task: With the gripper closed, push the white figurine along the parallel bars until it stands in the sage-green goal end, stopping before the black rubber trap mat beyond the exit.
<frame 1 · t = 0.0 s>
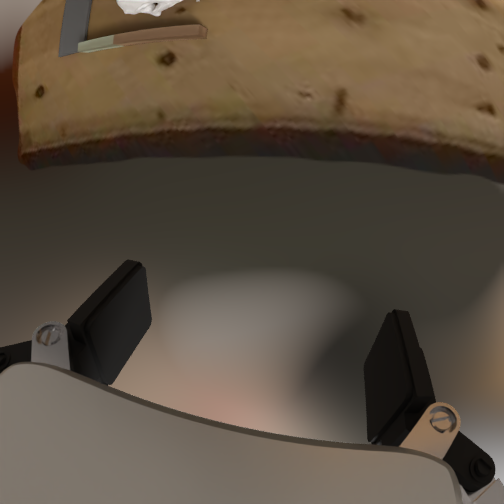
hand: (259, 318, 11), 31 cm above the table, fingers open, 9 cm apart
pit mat: (77, 17, 32), on the table
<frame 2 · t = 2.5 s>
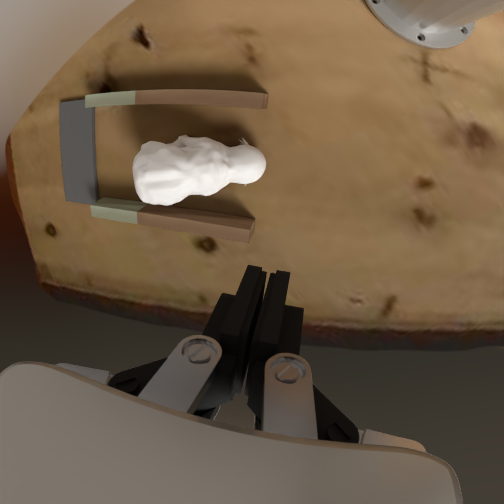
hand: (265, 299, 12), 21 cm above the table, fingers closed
white figurine: (215, 159, 32), on the table
parallel bars: (171, 155, 32), on the table
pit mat: (78, 151, 34), on the table
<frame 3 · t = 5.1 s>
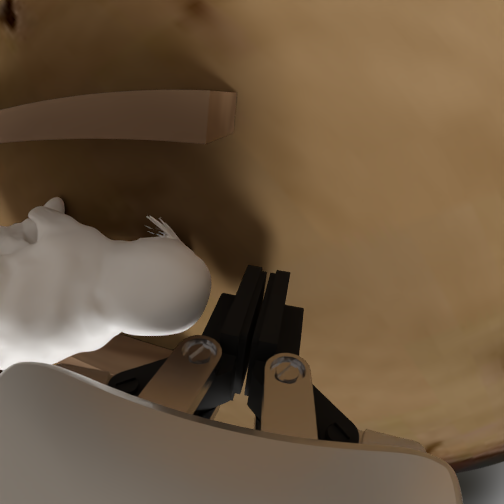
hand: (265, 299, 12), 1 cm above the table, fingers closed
white figurine: (115, 247, 14), on the table, touching gripper
parallel bars: (55, 236, 15), on the table
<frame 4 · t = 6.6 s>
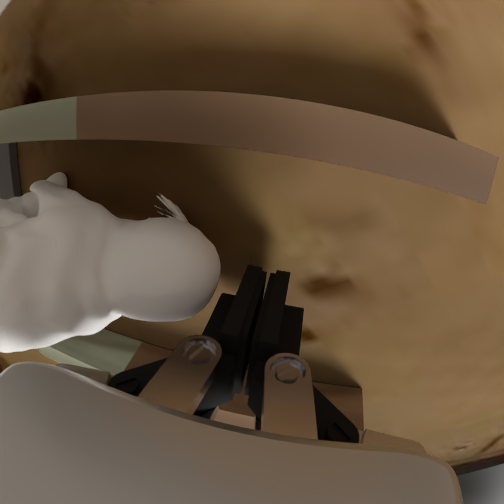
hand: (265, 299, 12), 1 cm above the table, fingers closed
white figurine: (118, 228, 14), on the table, touching gripper
parallel bars: (186, 266, 14), on the table
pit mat: (3, 223, 15), on the table
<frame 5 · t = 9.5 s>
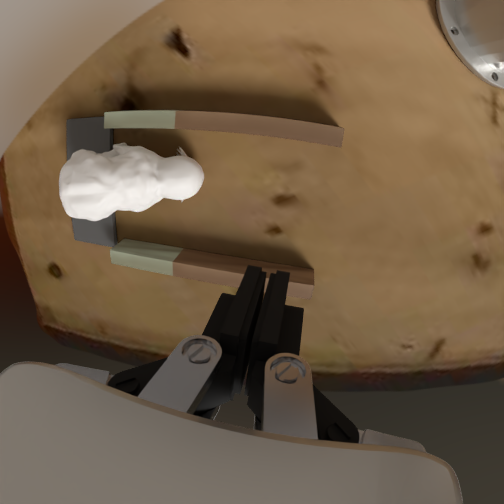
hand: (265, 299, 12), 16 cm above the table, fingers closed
white figurine: (153, 170, 28), on the table
parallel bars: (215, 194, 28), on the table
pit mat: (91, 182, 29), on the table
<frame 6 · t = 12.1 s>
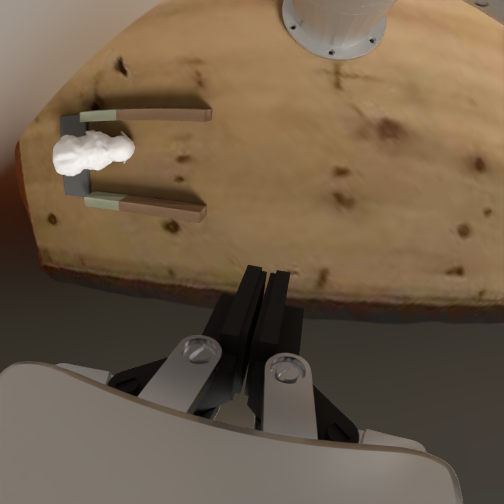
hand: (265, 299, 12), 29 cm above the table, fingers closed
white figurine: (110, 146, 41), on the table
parallel bars: (144, 158, 41), on the table
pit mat: (75, 155, 43), on the table
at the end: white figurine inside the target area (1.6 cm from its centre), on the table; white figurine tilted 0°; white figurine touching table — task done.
